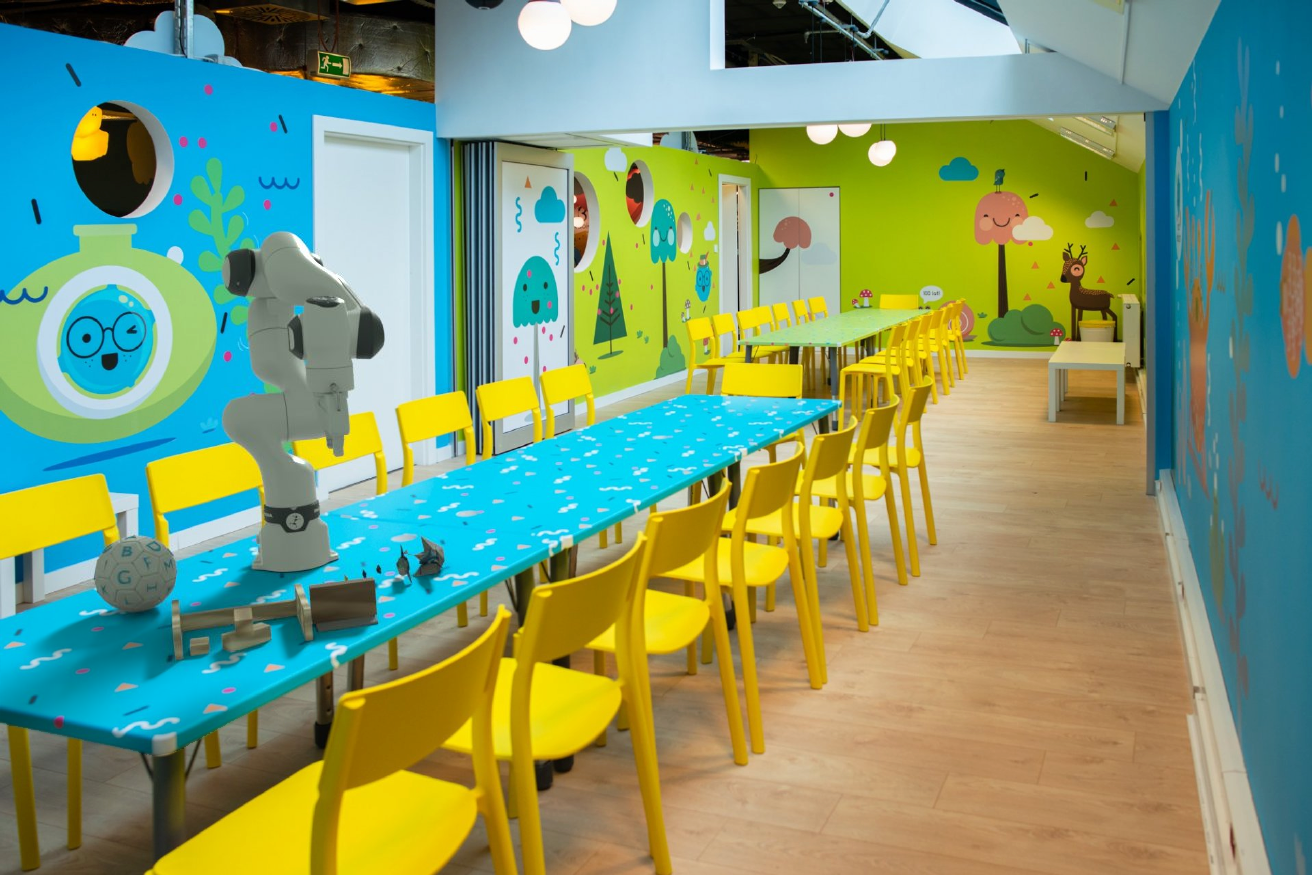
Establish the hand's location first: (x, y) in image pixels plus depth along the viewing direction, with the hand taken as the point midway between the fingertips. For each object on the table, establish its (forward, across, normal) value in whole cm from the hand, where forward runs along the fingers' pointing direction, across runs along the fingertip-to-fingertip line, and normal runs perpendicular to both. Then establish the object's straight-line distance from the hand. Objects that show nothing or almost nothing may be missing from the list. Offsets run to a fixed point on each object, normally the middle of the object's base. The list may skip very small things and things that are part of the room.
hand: (335, 452), depth 223 cm
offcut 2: (+28, -15, +20) cm, 38 cm away
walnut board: (+31, -9, +2) cm, 32 cm away
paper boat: (+31, +18, -20) cm, 41 cm away
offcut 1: (+32, -14, +28) cm, 44 cm away
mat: (+31, -9, +2) cm, 32 cm away
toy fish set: (+31, +11, -10) cm, 35 cm away
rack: (+31, -9, +20) cm, 38 cm away
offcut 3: (+32, -15, +20) cm, 40 cm away
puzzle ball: (+31, +16, +38) cm, 52 cm away
